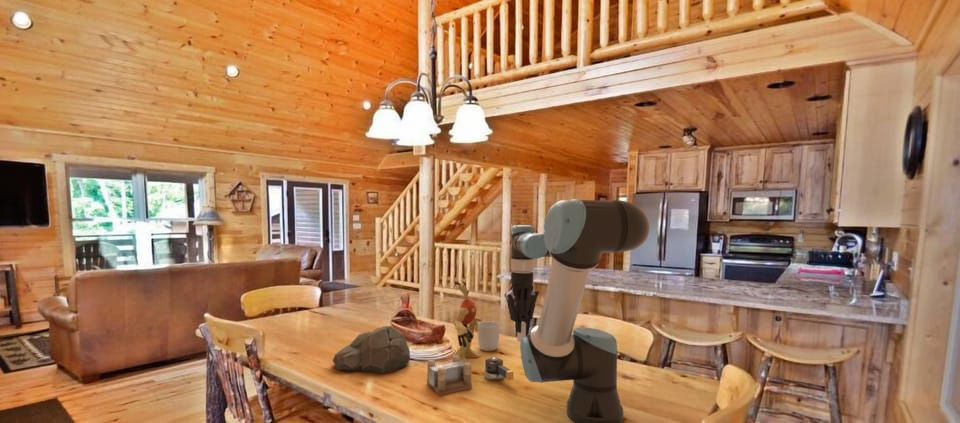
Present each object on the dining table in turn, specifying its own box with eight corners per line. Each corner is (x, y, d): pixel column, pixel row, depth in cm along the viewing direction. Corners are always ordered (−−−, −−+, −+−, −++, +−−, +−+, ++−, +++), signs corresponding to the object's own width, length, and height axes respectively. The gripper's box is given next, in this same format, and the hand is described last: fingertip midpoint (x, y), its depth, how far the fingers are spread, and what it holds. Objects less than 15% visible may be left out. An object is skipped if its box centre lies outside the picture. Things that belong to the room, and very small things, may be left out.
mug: (496, 353, 165) (496, 328, 165) (474, 351, 168) (474, 326, 168) (503, 343, 177) (503, 320, 177) (483, 341, 180) (483, 318, 180)
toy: (470, 376, 142) (471, 288, 142) (446, 374, 144) (446, 286, 144) (483, 353, 165) (484, 277, 165) (462, 351, 167) (463, 276, 167)
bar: (468, 379, 136) (468, 364, 135) (434, 387, 130) (434, 371, 130) (462, 375, 139) (462, 360, 139) (428, 382, 133) (429, 366, 133)
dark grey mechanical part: (482, 368, 143) (482, 356, 143) (496, 365, 146) (496, 353, 146) (503, 382, 132) (503, 369, 132) (518, 378, 135) (518, 365, 135)
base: (507, 378, 141) (507, 372, 141) (491, 382, 137) (491, 376, 137) (496, 371, 146) (496, 366, 146) (481, 375, 143) (481, 369, 143)
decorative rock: (324, 371, 145) (327, 327, 146) (355, 355, 167) (357, 316, 168) (396, 378, 140) (398, 332, 141) (419, 360, 161) (420, 320, 162)
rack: (472, 388, 133) (472, 364, 133) (439, 396, 127) (439, 371, 127) (457, 376, 142) (457, 354, 141) (426, 383, 136) (426, 360, 136)
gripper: (530, 268, 147) (530, 335, 147) (499, 271, 140) (499, 341, 140) (544, 271, 140) (543, 341, 140) (512, 274, 134) (511, 347, 134)
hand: (521, 341), depth 140 cm, fingers closed
